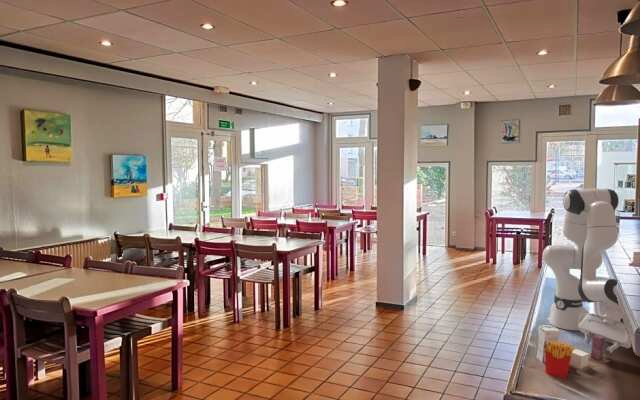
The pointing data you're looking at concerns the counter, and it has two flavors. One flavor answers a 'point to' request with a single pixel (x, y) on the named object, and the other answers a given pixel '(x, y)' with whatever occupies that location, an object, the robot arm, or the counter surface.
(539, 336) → the syrup box
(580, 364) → the cream cube
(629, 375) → the counter surface
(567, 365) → the french fries
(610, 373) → the counter surface
